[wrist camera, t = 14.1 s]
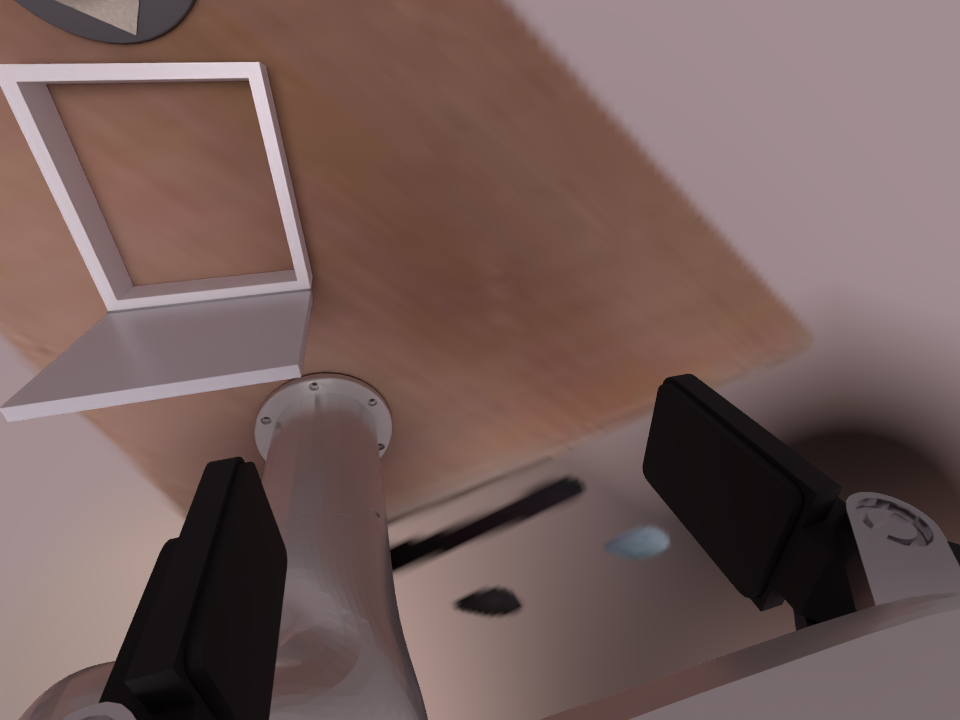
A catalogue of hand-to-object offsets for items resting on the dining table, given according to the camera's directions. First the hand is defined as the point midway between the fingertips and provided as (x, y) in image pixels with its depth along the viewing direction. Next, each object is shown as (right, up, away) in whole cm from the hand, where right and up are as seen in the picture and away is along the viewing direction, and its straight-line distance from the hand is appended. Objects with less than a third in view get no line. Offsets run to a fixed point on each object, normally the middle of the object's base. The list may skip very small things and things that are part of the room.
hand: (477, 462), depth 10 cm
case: (-20, +14, +21) cm, 33 cm away
